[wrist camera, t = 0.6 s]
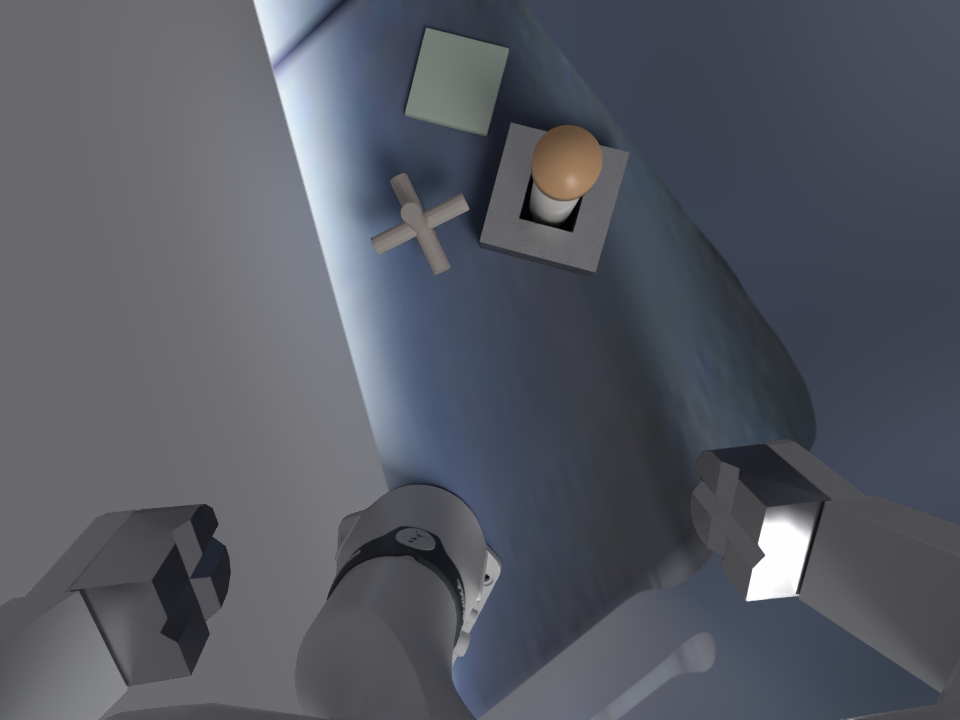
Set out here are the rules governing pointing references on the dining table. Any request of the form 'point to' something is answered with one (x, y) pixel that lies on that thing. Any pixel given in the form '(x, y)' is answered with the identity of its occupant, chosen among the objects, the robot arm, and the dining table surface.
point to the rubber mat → (456, 82)
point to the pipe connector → (419, 223)
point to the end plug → (562, 173)
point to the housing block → (542, 241)
